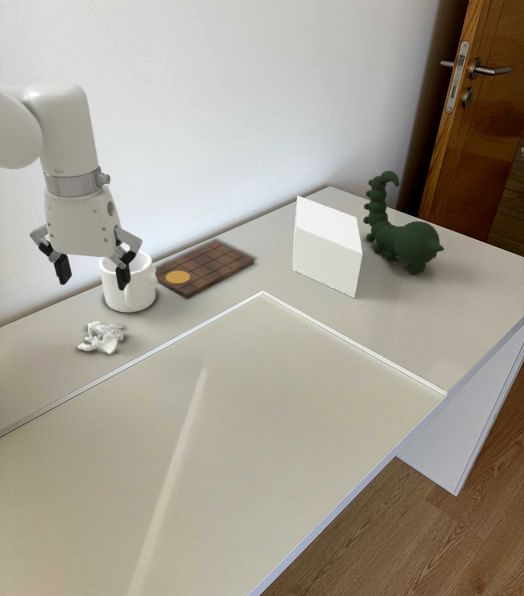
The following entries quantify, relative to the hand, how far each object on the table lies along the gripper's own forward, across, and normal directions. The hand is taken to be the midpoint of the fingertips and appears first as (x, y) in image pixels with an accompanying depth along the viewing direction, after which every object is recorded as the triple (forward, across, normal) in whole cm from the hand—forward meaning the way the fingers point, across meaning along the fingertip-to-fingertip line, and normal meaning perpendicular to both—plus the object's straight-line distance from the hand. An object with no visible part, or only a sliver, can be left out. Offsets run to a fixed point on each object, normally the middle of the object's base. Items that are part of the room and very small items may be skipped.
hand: (95, 283), depth 85 cm
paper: (+14, -36, -36) cm, 53 cm away
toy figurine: (+14, -53, -42) cm, 69 cm away
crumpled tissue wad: (+13, 0, 0) cm, 13 cm away
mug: (+13, 0, -13) cm, 18 cm away
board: (+13, -11, -28) cm, 33 cm away
